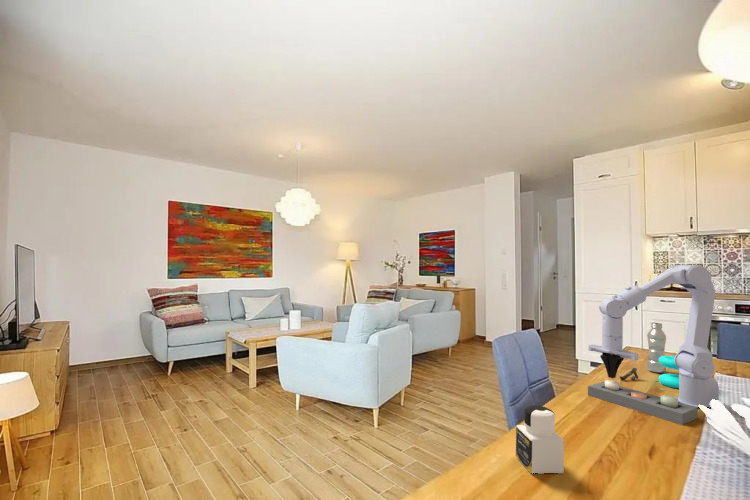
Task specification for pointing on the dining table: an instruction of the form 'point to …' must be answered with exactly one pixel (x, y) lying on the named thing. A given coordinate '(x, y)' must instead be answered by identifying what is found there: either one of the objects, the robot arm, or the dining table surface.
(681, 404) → the button panel
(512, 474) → the dining table surface
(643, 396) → the button terracotta
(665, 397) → the button sage
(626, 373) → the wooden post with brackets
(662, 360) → the donuts
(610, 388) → the button cream
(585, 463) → the dining table surface
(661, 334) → the plastic bottle
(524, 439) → the medicine bottle
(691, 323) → the robot arm
